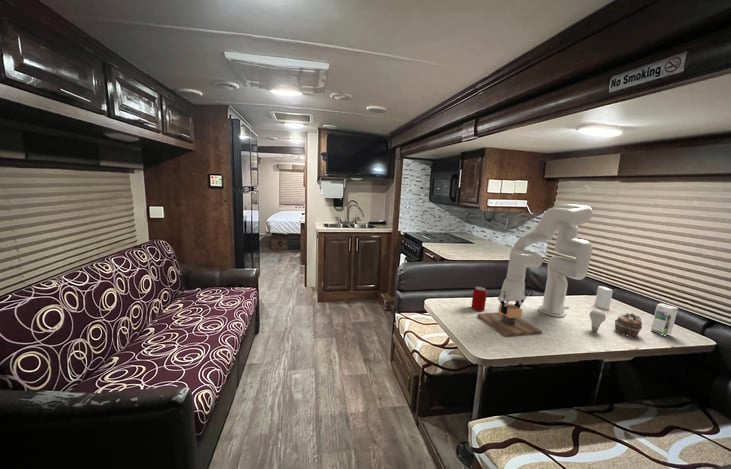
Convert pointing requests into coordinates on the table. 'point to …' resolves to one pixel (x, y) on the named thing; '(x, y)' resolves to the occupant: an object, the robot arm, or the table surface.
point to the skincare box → (603, 297)
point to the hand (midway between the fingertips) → (509, 312)
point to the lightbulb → (597, 318)
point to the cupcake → (628, 324)
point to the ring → (512, 311)
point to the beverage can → (479, 298)
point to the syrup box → (664, 319)
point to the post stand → (509, 324)
